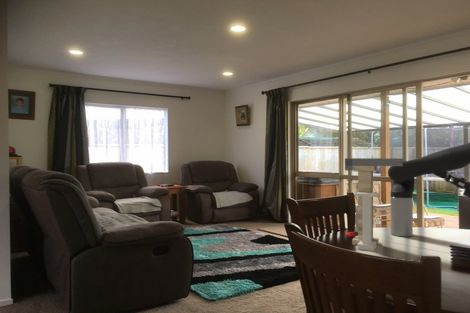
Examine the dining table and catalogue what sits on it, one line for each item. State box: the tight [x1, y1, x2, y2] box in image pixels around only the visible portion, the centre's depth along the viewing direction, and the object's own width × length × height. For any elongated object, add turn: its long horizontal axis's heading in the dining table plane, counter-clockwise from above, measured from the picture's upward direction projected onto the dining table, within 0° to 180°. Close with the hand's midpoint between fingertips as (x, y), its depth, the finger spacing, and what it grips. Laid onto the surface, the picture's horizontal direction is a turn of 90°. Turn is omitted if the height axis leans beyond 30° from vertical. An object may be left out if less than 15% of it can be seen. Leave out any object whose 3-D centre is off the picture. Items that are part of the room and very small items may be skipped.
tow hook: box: [344, 207, 358, 238], centre depth 168 cm, size 8×13×9 cm
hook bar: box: [344, 157, 404, 171], centre depth 151 cm, size 3×22×5 cm, turn 60°
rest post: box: [354, 191, 380, 252], centre depth 144 cm, size 6×8×22 cm
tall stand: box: [351, 166, 380, 247], centre depth 152 cm, size 8×9×32 cm
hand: (435, 170), depth 139 cm, fingers open, 8 cm apart
